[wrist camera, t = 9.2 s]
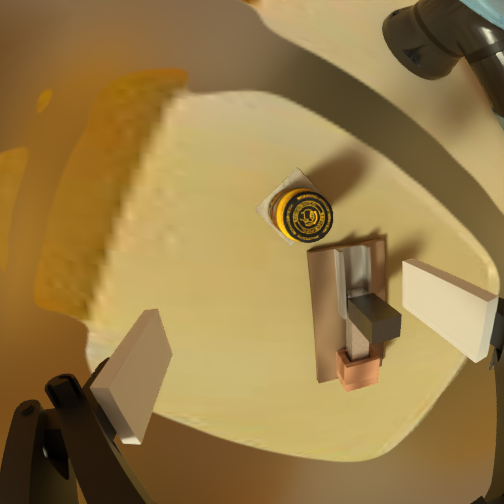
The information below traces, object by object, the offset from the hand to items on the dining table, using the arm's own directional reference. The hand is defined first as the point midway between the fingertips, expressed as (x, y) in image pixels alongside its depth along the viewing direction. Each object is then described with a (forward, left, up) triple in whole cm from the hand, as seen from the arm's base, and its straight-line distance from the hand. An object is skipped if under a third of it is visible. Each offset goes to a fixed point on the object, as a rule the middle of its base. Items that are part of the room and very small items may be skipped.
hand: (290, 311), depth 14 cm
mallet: (-13, +17, -24) cm, 32 cm away
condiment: (-6, -3, -27) cm, 28 cm away
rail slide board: (-13, +15, -27) cm, 33 cm away
